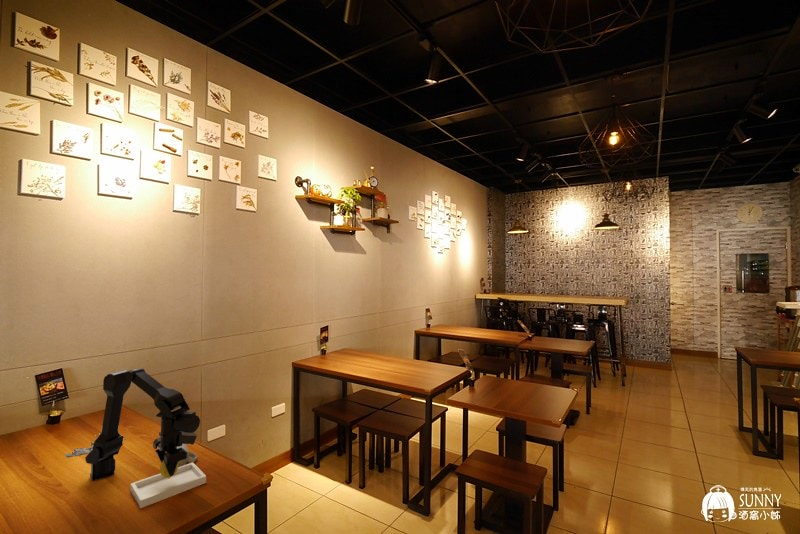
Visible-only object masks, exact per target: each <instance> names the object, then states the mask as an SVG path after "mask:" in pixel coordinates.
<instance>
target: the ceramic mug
mask: <svg viewBox="0 0 800 534" xmlns="http://www.w3.org/2000/svg"><path fill="white" fill-rule="evenodd" d="M178 448H183V449H185V450H186V451H187V458H186V459H184V460H181V461H178V467H181V466H184V465H187V464H188V463H192V462H193V463H194V462H196V461H197V458H198V455H197V454H196V453H194V452H191V451H189V448H188V444H182V446H180V447H177V449H178Z"/></svg>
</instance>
